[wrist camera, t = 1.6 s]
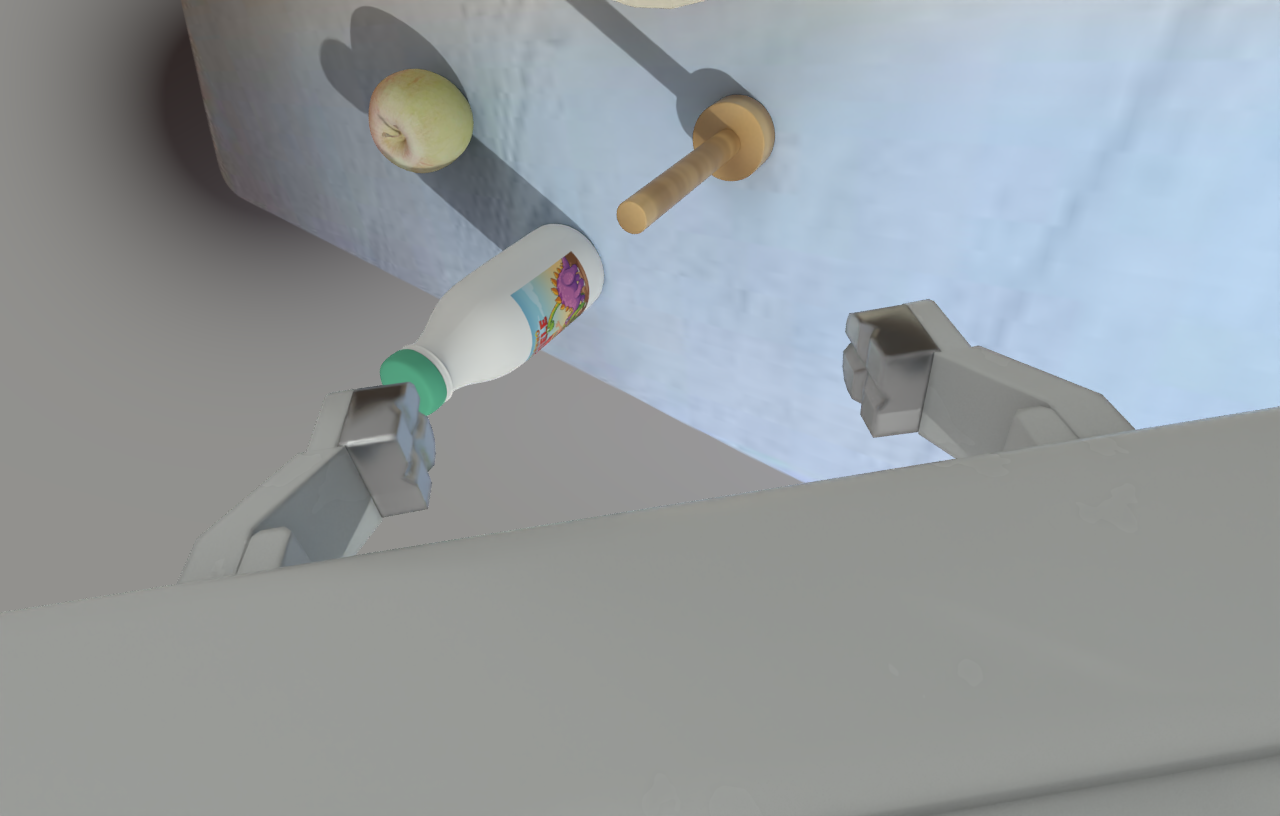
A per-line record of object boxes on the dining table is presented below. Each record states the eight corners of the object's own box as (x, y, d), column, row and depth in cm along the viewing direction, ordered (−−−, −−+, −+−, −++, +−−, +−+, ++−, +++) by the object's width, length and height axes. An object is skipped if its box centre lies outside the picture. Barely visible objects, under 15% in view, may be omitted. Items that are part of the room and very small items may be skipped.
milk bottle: (522, 275, 65) (357, 396, 51) (540, 203, 59) (360, 317, 45) (593, 321, 64) (444, 457, 50) (618, 252, 58) (458, 383, 44)
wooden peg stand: (735, 76, 46) (620, 149, 36) (790, 133, 46) (692, 221, 36) (691, 134, 50) (574, 215, 39) (742, 186, 50) (640, 280, 40)
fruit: (448, 39, 55) (371, 63, 49) (503, 129, 57) (436, 161, 51) (398, 91, 60) (323, 117, 54) (451, 171, 62) (384, 205, 56)
